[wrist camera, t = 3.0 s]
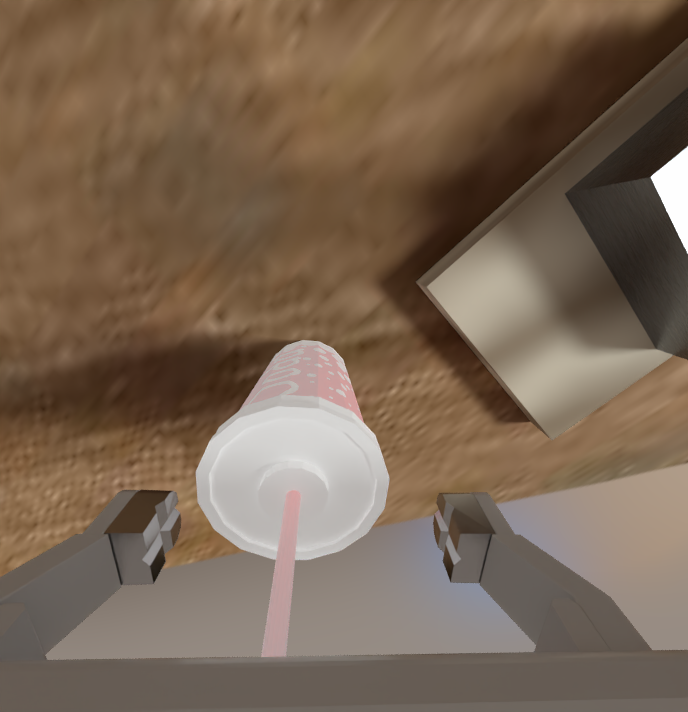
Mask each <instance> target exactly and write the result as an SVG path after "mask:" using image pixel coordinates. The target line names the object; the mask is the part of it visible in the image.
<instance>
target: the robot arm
mask: <svg viewBox="0 0 688 712" xmlns="http://www.w3.org/2000/svg"><path fill="white" fill-rule="evenodd" d="M177 503H178V497H177V493H176V492H174V491H160V490H122V491H120V492H119V493H117V495H116V496H115V497H114V498H113V499H112V500H111V501H110V503H109V504H108V505H107V506H106V507H105V508H104V510H103V511H102V512H101V513H100V514H99V515H98V516H97V518H96V519H95V520H94V521H93V522H92V523H91V524H90V526H89V527H88V528H87V529H86V530H85V531H84V532H83V534H76V535H74V536H72V537H70V538H69V539H67V540H65V541H63V542H62V543H60V544H58V545H56V546H55V547H53V548H51V549H49V550H48V551H46V552H44V553H42V554H41V555H39V556H37V557H35V558H33V559H32V560H30V561H28V562H26V563H25V564H23V565H21V566H19V567H18V568H16V569H14V570H12V571H11V572H9V573H7V574H5V575H4V576H2V577H0V712H688V650H652V649H651V648H650V647H649V645H648V644H647V643H646V642H645V640H644V639H643V638H642V636H641V635H640V634H639V633H638V631H637V630H636V629H635V628H634V626H633V625H632V624H631V623H630V621H629V620H628V619H627V617H626V616H625V615H624V614H623V612H622V611H621V610H620V609H619V607H618V606H617V605H616V604H615V602H614V601H613V600H612V599H611V597H609V596H608V595H607V594H605V593H604V592H602V591H601V590H599V589H598V588H596V587H595V586H594V585H592V584H591V583H589V582H588V581H586V580H585V579H583V578H582V577H581V576H579V575H578V574H576V573H575V572H573V571H572V570H570V569H569V568H568V567H566V566H564V565H563V564H562V563H560V562H559V561H557V560H556V559H554V558H553V557H552V556H550V555H549V554H547V553H546V552H544V551H543V550H541V549H540V548H539V547H537V546H535V545H534V544H532V543H531V542H530V541H528V540H527V539H525V538H524V537H523V536H521V535H515V534H514V532H513V531H512V529H511V527H510V526H509V524H508V523H507V521H506V520H505V518H504V517H503V515H502V513H501V512H500V510H499V509H498V507H497V506H496V504H495V503H494V501H493V499H492V498H491V496H490V495H489V494H488V493H486V492H471V493H439V495H438V497H437V502H436V503H437V506H438V508H439V510H438V511H437V512H436V513H435V514H434V522H433V525H434V535H435V539H436V542H437V545H438V548H440V549H441V550H442V551H443V552H444V557H443V563H444V565H445V568H446V571H447V574H448V576H449V579H450V582H453V583H455V582H456V583H480V586H481V587H482V588H483V589H484V590H485V591H486V592H487V593H488V594H489V595H490V596H491V597H492V598H493V600H494V601H495V602H496V603H497V604H498V605H499V606H500V607H501V608H502V609H503V610H504V611H505V612H506V613H507V614H508V615H509V617H510V618H511V619H512V620H513V621H514V622H515V623H516V624H517V625H518V626H519V627H520V628H521V629H522V631H524V633H525V634H526V635H528V637H529V638H530V639H531V640H532V641H533V642H534V643H535V644H536V648H535V651H534V652H524V653H459V654H402V655H349V656H348V655H347V656H345V655H344V656H279V657H212V658H211V657H210V658H150V659H149V658H148V659H147V658H146V659H86V660H85V659H84V660H47V659H46V656H45V654H46V653H47V652H49V651H50V650H51V649H52V648H53V647H54V646H55V645H56V644H58V643H59V642H60V641H61V640H62V639H63V638H64V637H66V636H67V635H68V634H69V633H70V632H71V631H72V630H73V629H75V628H76V627H77V626H78V625H79V624H80V623H81V622H83V620H85V619H86V618H87V617H88V616H89V615H90V614H92V613H93V612H94V611H95V610H96V609H97V608H98V607H99V606H101V605H102V604H103V603H104V602H105V601H106V600H107V599H108V598H110V597H111V596H112V595H113V594H114V593H115V592H116V591H117V590H119V589H120V588H121V585H139V584H140V585H142V584H154V582H155V581H156V579H157V577H158V575H159V573H160V571H161V569H162V567H163V566H164V564H165V562H166V560H165V555H164V554H165V553H166V552H168V551H169V550H170V549H172V548H173V547H174V545H175V543H176V541H177V539H178V535H179V532H180V528H181V516H180V512H179V511H178V510H176V509H175V506H176V504H177Z"/></svg>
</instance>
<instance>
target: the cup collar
mask: <svg viewBox="0 0 688 712" xmlns="http://www.w3.org/2000/svg"><path fill="white" fill-rule="evenodd" d="M565 195H566V197H567V199H568V200H569V202H570V204H571V205H572V207H573V209H574V210H575V212H576V214H577V216H578V217H579V219H580V221H581V222H582V224H583V226H584V227H585V229H586V231H587V233H588V234H589V236H590V238H591V239H592V241H593V243H594V244H595V246H596V248H597V250H598V251H599V253H600V255H601V256H602V258H603V260H604V261H605V263H606V265H607V267H608V268H609V270H610V272H611V273H612V275H613V277H614V278H615V280H616V282H617V284H618V285H619V287H620V289H621V290H622V292H623V294H624V295H625V297H626V299H627V300H628V302H629V304H630V306H631V307H632V309H633V311H634V312H635V314H636V316H637V317H638V319H639V321H640V323H641V324H642V326H643V328H644V329H645V331H646V333H647V334H648V336H649V338H650V340H651V341H652V343H653V345H654V346H655V348H656V349H657V350H660V351H663V352H666V353H669V354H672V355H675V356H678V357H681V358H684V359H687V360H688V87H687V88H686V89H685V90H684V91H683V92H682V93H681V94H679V95H678V96H677V97H676V98H675V99H674V100H672V101H671V102H670V103H669V104H668V105H667V106H666V107H664V108H663V109H662V110H661V111H660V112H659V113H657V114H656V115H655V116H654V117H653V118H652V119H651V120H649V121H648V122H647V123H646V124H645V125H644V126H642V127H641V128H640V129H639V130H638V131H637V132H635V133H634V134H633V135H632V136H631V137H630V138H629V139H627V140H626V141H625V142H624V143H623V144H622V145H620V146H619V147H618V148H617V149H616V150H615V151H614V152H612V153H611V154H610V155H609V156H608V157H607V158H605V159H604V160H603V161H602V162H601V163H600V164H598V165H597V166H596V167H595V168H594V169H593V170H592V171H590V172H589V173H588V174H587V175H586V176H585V177H583V178H582V179H581V180H580V181H579V182H578V183H577V184H575V185H574V186H573V187H572V188H571V189H570V190H568V191H567V192H566V193H565Z"/></svg>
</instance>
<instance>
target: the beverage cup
mask: <svg viewBox="0 0 688 712" xmlns="http://www.w3.org/2000/svg"><path fill="white" fill-rule="evenodd" d="M196 482H197V496H198V504H199V505H200V507H201V508H202V510H203V512H204V513H205V515H206V517H207V518H208V520H209V522H210V523H211V525H212V527H213V528H214V530H216V531H217V532H218V533H220V534H221V535H222V536H224V537H225V538H226V539H228V540H229V541H231V542H232V543H233V544H235V545H236V546H237V547H239V548H240V549H242V550H245V551H248V552H252V553H255V554H258V555H261V556H264V557H268V558H271V559H276V564H275V570H274V577H273V583H272V590H271V596H270V603H269V609H268V615H267V622H266V629H265V635H264V641H263V648H262V655H261V657H279V656H286V650H287V639H288V628H289V618H290V608H291V597H292V586H293V576H294V565H295V560H310V559H313V558H317V557H320V556H324V555H328V554H331V553H335V552H338V551H341V550H343V549H344V548H345V547H347V546H348V545H350V544H352V543H353V542H355V541H356V540H357V539H359V538H360V537H362V536H364V535H365V534H367V533H368V531H369V530H370V528H371V527H372V525H373V524H374V523H375V521H376V520H377V518H378V517H379V516H380V514H381V513H382V511H383V510H384V508H385V503H386V497H387V491H388V485H389V475H388V472H387V469H386V466H385V463H384V460H383V457H382V453H381V450H380V447H379V444H378V442H377V439H376V436H375V434H374V433H373V432H372V431H371V430H370V429H369V428H368V427H367V426H366V425H365V424H364V422H363V419H362V416H361V413H360V410H359V406H358V403H357V400H356V397H355V394H354V391H353V388H352V385H351V382H350V379H349V376H348V373H347V370H346V367H345V364H344V361H343V359H342V358H341V357H340V356H339V354H338V353H337V352H336V351H335V350H334V349H333V348H331V347H329V346H327V345H325V344H323V343H321V342H319V341H306V340H301V341H298V342H295V343H292V344H289V345H287V346H285V347H284V348H283V349H282V350H281V351H279V352H278V353H277V354H276V355H275V356H274V358H273V359H272V361H271V362H270V364H269V365H268V367H267V368H266V370H265V372H264V373H263V375H262V376H261V378H260V379H259V381H258V382H257V384H256V385H255V387H254V388H253V390H252V391H251V393H250V395H249V396H248V398H247V399H246V401H245V402H244V404H243V405H242V407H241V408H240V410H239V411H238V412H237V413H236V414H235V415H233V416H232V417H231V418H230V419H229V420H227V421H226V422H225V423H224V424H222V425H221V426H220V427H219V428H218V430H217V432H216V434H215V435H214V436H213V437H212V438H211V440H210V442H209V444H208V446H207V448H206V451H205V453H204V455H203V457H202V459H201V461H200V464H199V466H198V468H197V470H196Z"/></svg>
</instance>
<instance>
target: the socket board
mask: <svg viewBox="0 0 688 712" xmlns="http://www.w3.org/2000/svg"><path fill="white" fill-rule="evenodd" d="M687 87H688V38H687V39H686V40H685V41H684V42H683V43H681V44H680V45H679V46H678V47H677V48H676V49H675V50H674V51H672V52H671V53H670V54H669V55H668V56H667V57H666V58H665V59H664V60H662V61H661V62H660V63H659V64H658V65H657V66H656V67H655V68H654V69H652V70H651V71H650V72H649V73H648V74H647V75H646V76H645V77H643V78H642V79H641V80H640V81H639V82H638V83H637V84H636V85H635V86H633V87H632V88H631V89H630V90H629V91H628V92H627V93H626V94H625V95H623V96H622V97H621V98H620V99H619V100H618V101H617V102H616V103H614V104H613V105H612V106H611V107H610V108H609V109H608V110H607V111H606V112H604V113H603V114H602V115H601V116H600V117H599V118H598V119H597V120H596V121H594V122H593V123H592V124H591V125H590V126H589V127H588V128H587V129H585V130H584V131H583V132H582V133H581V134H580V135H579V136H578V137H577V138H575V139H574V140H573V141H572V142H571V143H570V144H569V145H568V146H567V147H565V148H564V149H563V150H562V151H561V152H560V153H559V154H558V155H556V156H555V157H554V158H553V159H552V160H551V161H550V162H549V163H548V164H546V165H545V166H544V167H543V168H542V169H541V170H540V171H539V172H538V173H536V174H535V175H534V176H533V177H532V178H531V179H530V180H529V181H527V182H526V183H525V184H524V185H523V186H522V187H521V188H520V189H519V190H517V191H516V192H515V193H514V194H513V195H512V196H511V197H510V198H509V199H507V200H506V201H505V202H504V203H503V204H502V205H501V206H500V207H498V208H497V209H496V210H495V211H494V212H493V213H492V214H491V215H490V216H488V217H487V218H486V219H485V220H484V221H483V222H482V223H481V224H480V225H478V226H477V227H476V228H475V229H474V230H473V231H472V232H471V233H469V234H468V235H467V236H466V237H465V238H464V239H463V240H462V241H461V242H459V243H458V244H457V245H456V246H455V247H454V248H453V249H452V250H451V251H449V252H448V253H447V254H446V255H445V256H444V257H443V258H442V259H440V260H439V261H438V262H437V263H436V264H435V265H434V266H433V267H432V268H430V269H429V270H428V271H427V272H426V273H425V274H424V275H423V276H422V277H420V278H419V279H418V280H417V281H416V283H417V284H418V286H419V287H420V288H421V289H422V290H423V292H424V293H425V294H426V295H427V296H428V298H429V299H430V300H431V301H432V303H433V304H434V305H435V306H436V307H437V309H438V310H439V311H440V312H441V313H442V315H443V316H444V317H445V318H446V319H447V321H448V322H449V323H450V324H451V326H452V327H453V328H454V329H455V330H456V332H457V333H458V334H459V335H460V336H461V338H462V339H463V340H464V341H465V342H466V344H467V345H468V346H469V347H470V349H471V350H472V351H473V352H474V353H475V355H476V356H477V357H478V358H479V359H480V361H481V362H482V363H483V364H484V366H485V367H486V368H487V369H488V370H489V372H490V373H491V374H492V375H493V376H494V378H495V379H496V380H497V381H498V382H499V384H500V385H501V386H502V387H503V389H504V390H505V391H506V392H507V393H508V395H509V396H510V397H511V398H512V399H513V401H514V402H515V403H516V404H517V405H518V407H519V408H520V409H521V410H522V412H523V413H524V414H525V415H526V416H527V418H528V419H529V420H530V421H531V422H532V423H533V424H534V425H535V426H536V427H537V428H538V429H540V430H541V431H542V432H543V433H544V434H545V435H546V436H548V437H549V438H550V439H551V440H553V439H555V438H556V437H558V436H559V435H561V434H562V433H563V432H565V431H566V430H568V429H569V428H570V427H572V426H573V425H575V424H576V423H578V422H579V421H580V420H582V419H583V418H585V417H586V416H588V415H589V414H590V413H592V412H593V411H595V410H596V409H598V408H599V407H600V406H602V405H603V404H605V403H606V402H608V401H609V400H610V399H612V398H613V397H615V396H616V395H617V394H619V393H620V392H622V391H623V390H625V389H626V388H627V387H629V386H630V385H632V384H633V383H635V382H636V381H637V380H639V379H640V378H642V377H643V376H645V375H646V374H647V373H649V372H650V371H652V370H653V369H655V368H656V367H657V366H659V365H660V364H662V363H663V362H664V361H666V360H667V359H669V358H670V357H672V356H673V355H672V354H669V353H666V352H663V351H660V350H657V349H656V348H655V346H654V345H653V343H652V341H651V340H650V338H649V336H648V334H647V333H646V331H645V329H644V328H643V326H642V324H641V323H640V321H639V319H638V317H637V316H636V314H635V312H634V311H633V309H632V307H631V306H630V304H629V302H628V300H627V299H626V297H625V295H624V294H623V292H622V290H621V289H620V287H619V285H618V284H617V282H616V280H615V278H614V277H613V275H612V273H611V272H610V270H609V268H608V267H607V265H606V263H605V261H604V260H603V258H602V256H601V255H600V253H599V251H598V250H597V248H596V246H595V244H594V243H593V241H592V239H591V238H590V236H589V234H588V233H587V231H586V229H585V227H584V226H583V224H582V222H581V221H580V219H579V217H578V216H577V214H576V212H575V210H574V209H573V207H572V205H571V204H570V202H569V200H568V199H567V197H566V195H565V193H566V192H567V191H568V190H570V189H571V188H572V187H573V186H574V185H575V184H577V183H578V182H579V181H580V180H581V179H582V178H583V177H585V176H586V175H587V174H588V173H589V172H590V171H592V170H593V169H594V168H595V167H596V166H597V165H598V164H600V163H601V162H602V161H603V160H604V159H605V158H607V157H608V156H609V155H610V154H611V153H612V152H614V151H615V150H616V149H617V148H618V147H619V146H620V145H622V144H623V143H624V142H625V141H626V140H627V139H629V138H630V137H631V136H632V135H633V134H634V133H635V132H637V131H638V130H639V129H640V128H641V127H642V126H644V125H645V124H646V123H647V122H648V121H649V120H651V119H652V118H653V117H654V116H655V115H656V114H657V113H659V112H660V111H661V110H662V109H663V108H664V107H666V106H667V105H668V104H669V103H670V102H671V101H672V100H674V99H675V98H676V97H677V96H678V95H679V94H681V93H682V92H683V91H684V90H685V89H686V88H687Z"/></svg>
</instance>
